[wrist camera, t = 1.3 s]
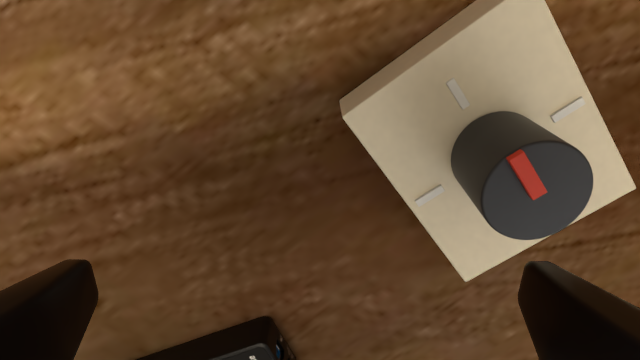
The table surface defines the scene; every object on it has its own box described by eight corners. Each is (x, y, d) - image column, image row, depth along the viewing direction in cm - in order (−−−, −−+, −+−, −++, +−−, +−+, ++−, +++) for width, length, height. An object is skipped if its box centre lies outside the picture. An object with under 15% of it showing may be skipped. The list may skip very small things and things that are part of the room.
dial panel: (598, 164, 22) (639, 189, 19) (449, 250, 25) (466, 284, 22) (503, -21, 19) (536, -22, 16) (338, 100, 21) (341, 117, 18)
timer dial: (555, 162, 19) (617, 207, 15) (476, 209, 20) (514, 263, 16) (516, 91, 18) (572, 120, 14) (433, 145, 19) (463, 187, 15)
